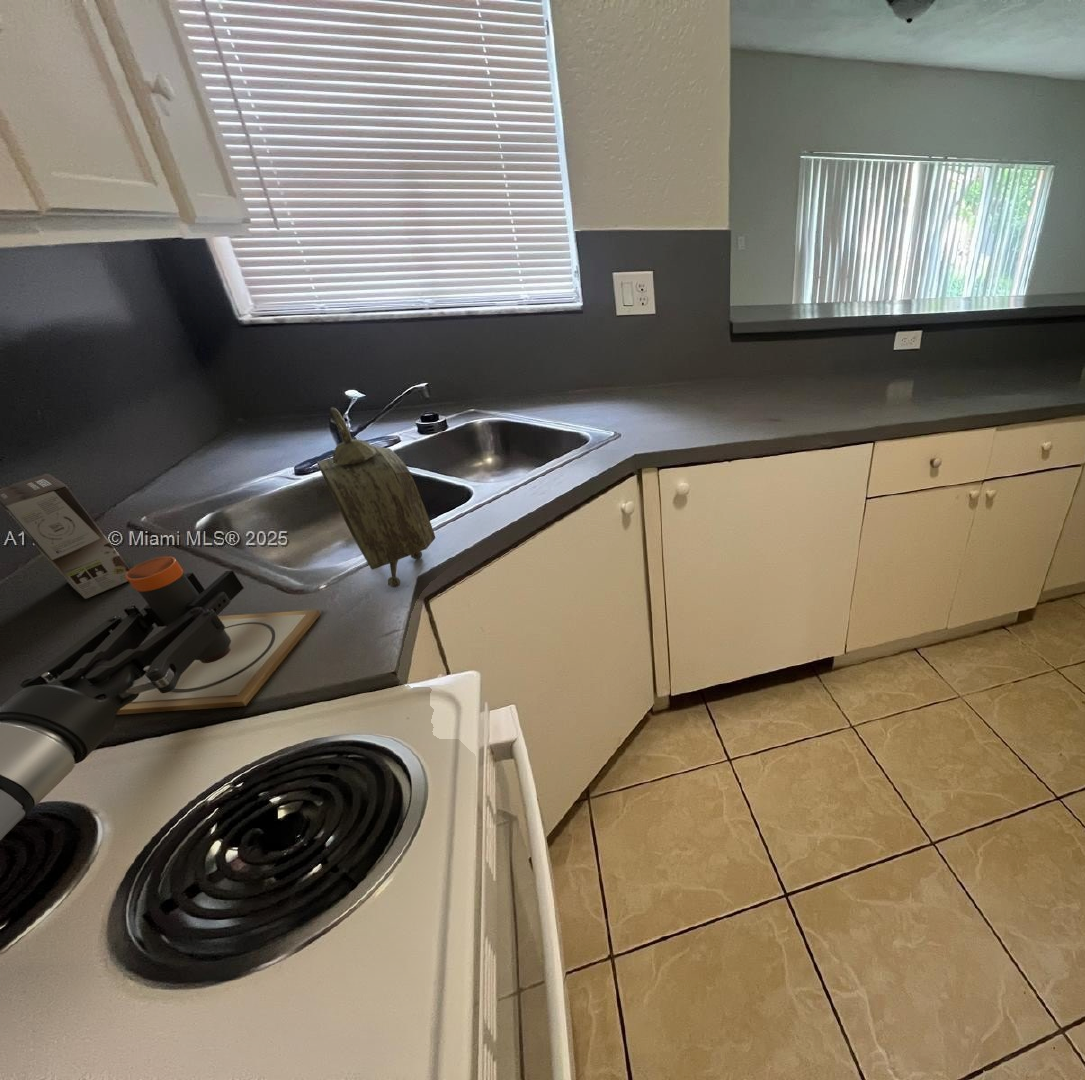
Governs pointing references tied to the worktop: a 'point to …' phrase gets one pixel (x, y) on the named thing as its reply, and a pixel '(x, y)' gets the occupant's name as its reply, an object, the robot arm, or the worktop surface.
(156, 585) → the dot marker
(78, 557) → the coffee box
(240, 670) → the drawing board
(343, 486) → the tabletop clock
